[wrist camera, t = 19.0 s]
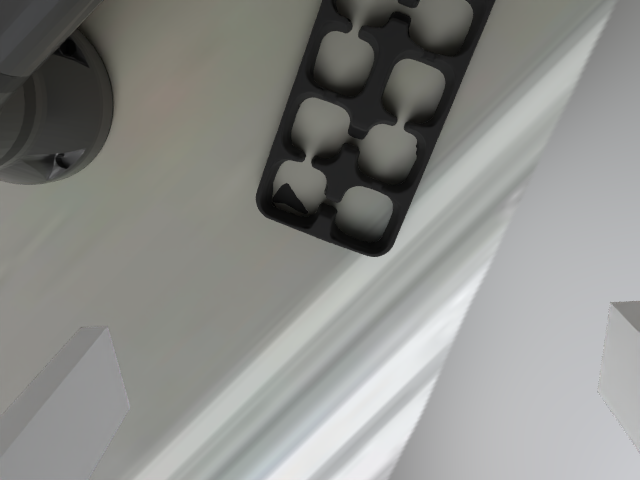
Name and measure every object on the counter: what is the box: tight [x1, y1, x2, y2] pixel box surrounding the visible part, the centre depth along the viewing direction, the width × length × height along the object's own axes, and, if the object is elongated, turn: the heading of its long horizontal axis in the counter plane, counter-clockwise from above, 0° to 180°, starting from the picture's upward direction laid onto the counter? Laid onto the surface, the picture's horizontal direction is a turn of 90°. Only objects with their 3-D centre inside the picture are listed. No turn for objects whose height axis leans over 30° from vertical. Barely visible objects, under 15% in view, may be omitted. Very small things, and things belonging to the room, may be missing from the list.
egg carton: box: [256, 0, 495, 257], centre depth 43 cm, size 18×30×4 cm, turn 172°
